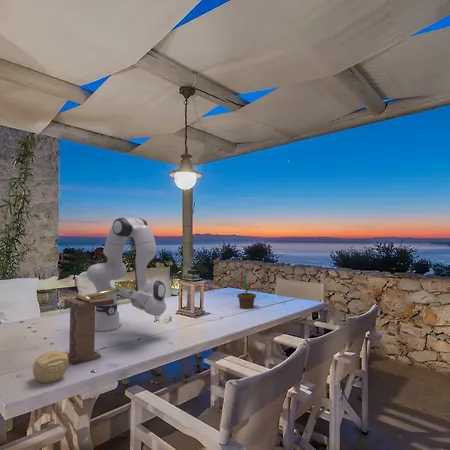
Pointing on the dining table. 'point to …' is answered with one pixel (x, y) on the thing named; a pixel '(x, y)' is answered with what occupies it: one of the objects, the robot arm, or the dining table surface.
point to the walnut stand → (83, 328)
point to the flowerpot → (246, 297)
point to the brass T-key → (97, 294)
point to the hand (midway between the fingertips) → (118, 288)
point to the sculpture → (50, 366)
